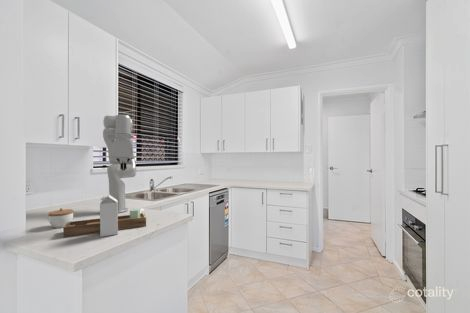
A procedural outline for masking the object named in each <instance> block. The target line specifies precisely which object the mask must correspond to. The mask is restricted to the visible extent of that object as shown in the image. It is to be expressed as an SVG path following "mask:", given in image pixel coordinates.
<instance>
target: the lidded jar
mask: <svg viewBox="0 0 470 313" xmlns="http://www.w3.org/2000/svg"><path fill="white" fill-rule="evenodd" d="M47 215H48V221H49V225H51V226H52V227H53V228H55V229H60V228H63V227H64V226H65V225H66V224H67V223H68V222H73V219H74V209H72V208H71V209H70V208H68V209H63V208H59V210H53V211H50V212H48V213H47Z"/></svg>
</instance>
